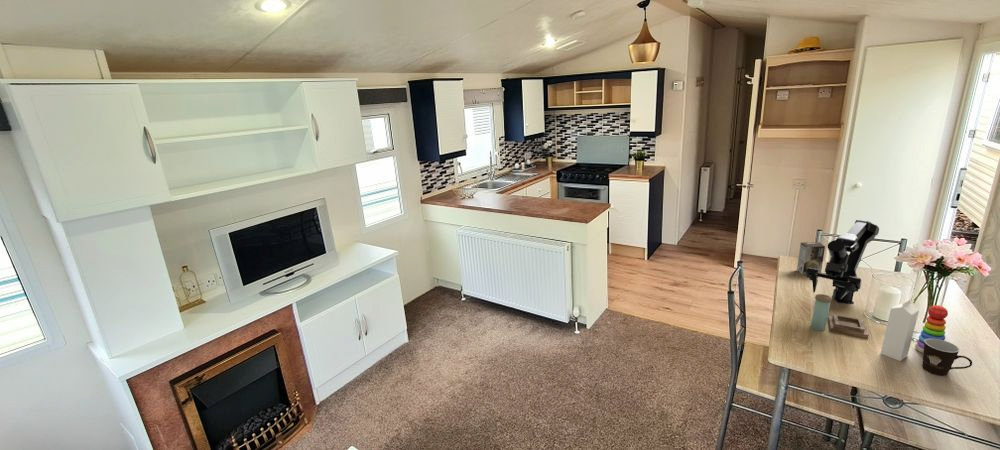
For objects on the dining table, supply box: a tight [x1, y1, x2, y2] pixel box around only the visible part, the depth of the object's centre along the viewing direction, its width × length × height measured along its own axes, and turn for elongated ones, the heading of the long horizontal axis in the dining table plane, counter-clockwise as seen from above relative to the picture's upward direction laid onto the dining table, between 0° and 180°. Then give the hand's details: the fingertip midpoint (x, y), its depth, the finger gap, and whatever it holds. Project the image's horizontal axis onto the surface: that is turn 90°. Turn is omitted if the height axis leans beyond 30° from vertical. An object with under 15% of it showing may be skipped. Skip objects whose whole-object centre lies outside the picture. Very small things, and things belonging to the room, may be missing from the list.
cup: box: [810, 293, 833, 332], centre depth 181 cm, size 5×5×14 cm
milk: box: [880, 299, 920, 362], centre depth 159 cm, size 6×6×22 cm
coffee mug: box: [921, 338, 973, 377], centre depth 150 cm, size 12×9×10 cm
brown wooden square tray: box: [827, 313, 869, 339], centre depth 181 cm, size 12×12×3 cm
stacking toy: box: [914, 304, 949, 354], centre depth 161 cm, size 8×8×19 cm
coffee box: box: [796, 241, 826, 275], centre depth 232 cm, size 9×6×16 cm
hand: (826, 295), depth 183 cm, fingers open, 9 cm apart
